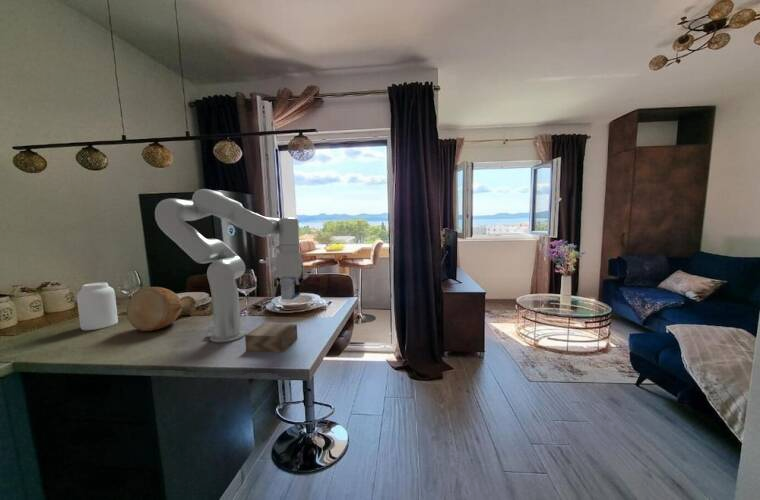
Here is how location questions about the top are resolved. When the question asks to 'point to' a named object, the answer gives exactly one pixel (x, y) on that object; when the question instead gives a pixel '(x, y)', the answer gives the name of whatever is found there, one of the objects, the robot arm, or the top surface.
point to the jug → (157, 308)
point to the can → (97, 306)
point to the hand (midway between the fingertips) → (290, 293)
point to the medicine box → (288, 288)
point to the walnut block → (271, 337)
